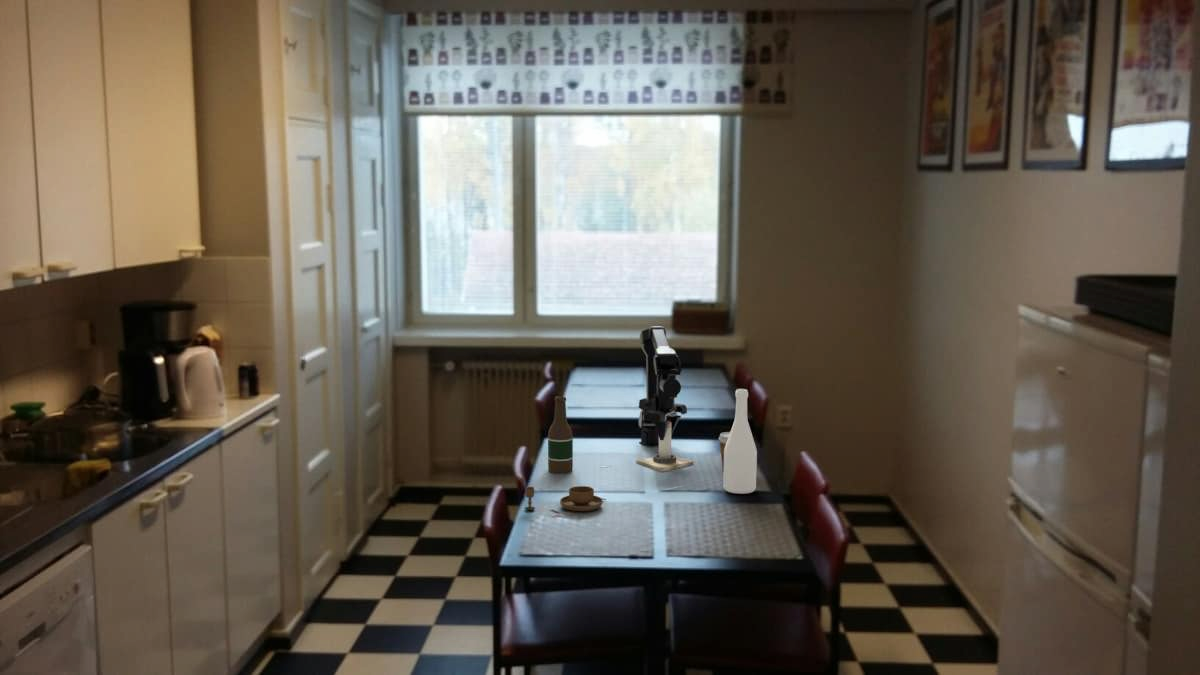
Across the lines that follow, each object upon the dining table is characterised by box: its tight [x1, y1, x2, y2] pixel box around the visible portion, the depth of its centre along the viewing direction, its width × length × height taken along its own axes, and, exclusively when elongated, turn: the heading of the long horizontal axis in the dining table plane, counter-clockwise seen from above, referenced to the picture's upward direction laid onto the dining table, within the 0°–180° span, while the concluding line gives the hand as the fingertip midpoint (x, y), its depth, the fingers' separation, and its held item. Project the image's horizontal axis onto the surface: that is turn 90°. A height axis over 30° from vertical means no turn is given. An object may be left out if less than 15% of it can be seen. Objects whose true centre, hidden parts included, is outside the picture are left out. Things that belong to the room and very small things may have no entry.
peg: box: [658, 421, 672, 459], centre depth 324 cm, size 4×4×12 cm
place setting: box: [524, 485, 607, 517], centre depth 282 cm, size 18×20×6 cm
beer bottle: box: [547, 395, 574, 475], centre depth 315 cm, size 8×8×24 cm
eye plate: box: [635, 453, 694, 472], centre depth 325 cm, size 14×12×3 cm
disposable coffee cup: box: [718, 431, 731, 473], centre depth 316 cm, size 10×10×12 cm
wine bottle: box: [722, 388, 758, 495], centre depth 295 cm, size 10×10×30 cm
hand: (665, 438), depth 324 cm, fingers closed on peg, 4 cm apart
